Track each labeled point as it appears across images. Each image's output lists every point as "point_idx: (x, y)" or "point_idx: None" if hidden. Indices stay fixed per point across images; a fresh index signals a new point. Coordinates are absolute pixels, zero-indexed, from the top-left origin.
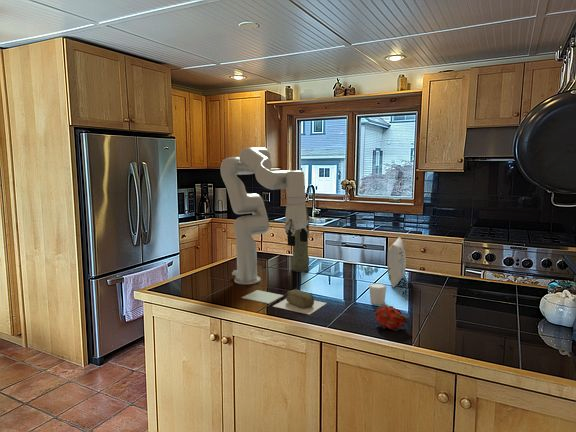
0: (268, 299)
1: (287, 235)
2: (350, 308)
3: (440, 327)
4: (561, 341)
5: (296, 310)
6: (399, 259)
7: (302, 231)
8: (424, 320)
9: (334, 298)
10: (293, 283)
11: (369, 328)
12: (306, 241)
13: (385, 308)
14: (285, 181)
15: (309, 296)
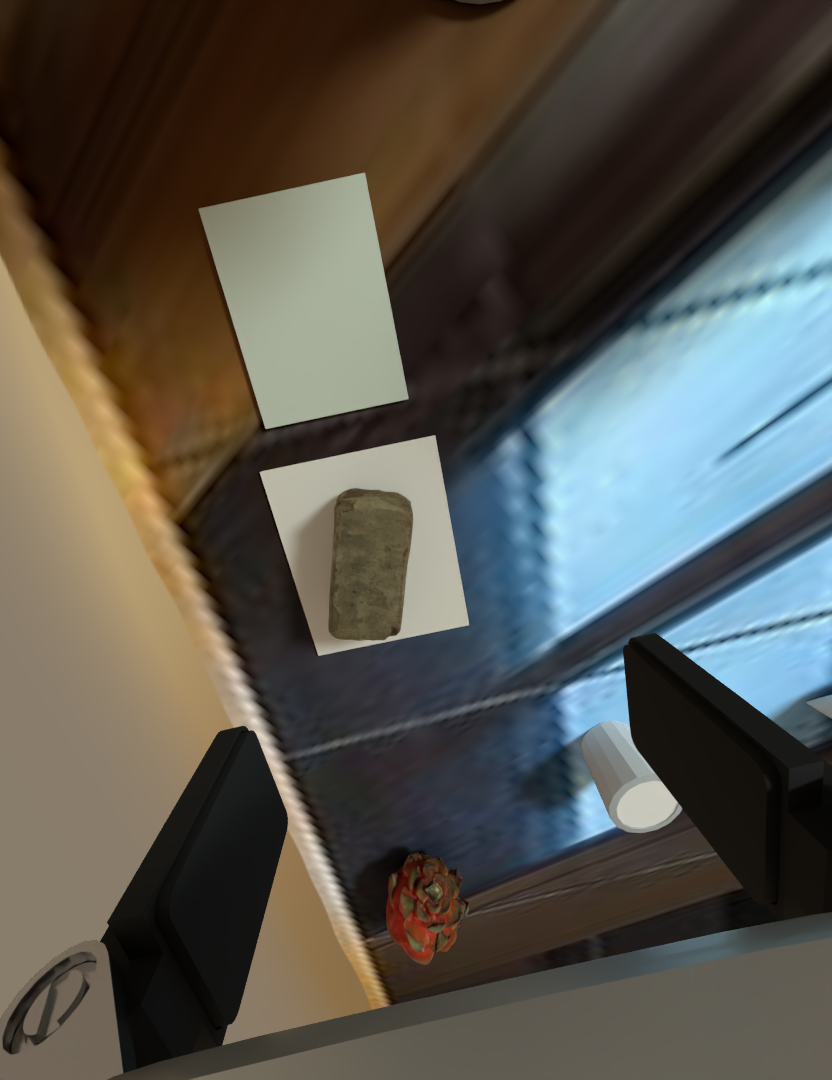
0: (300, 384)
1: (55, 982)
2: (483, 716)
3: (515, 934)
4: None
5: (306, 593)
6: None
7: (802, 856)
8: (537, 896)
9: (544, 608)
10: (632, 263)
11: (374, 839)
12: (638, 741)
13: (413, 940)
14: None
15: (368, 639)
